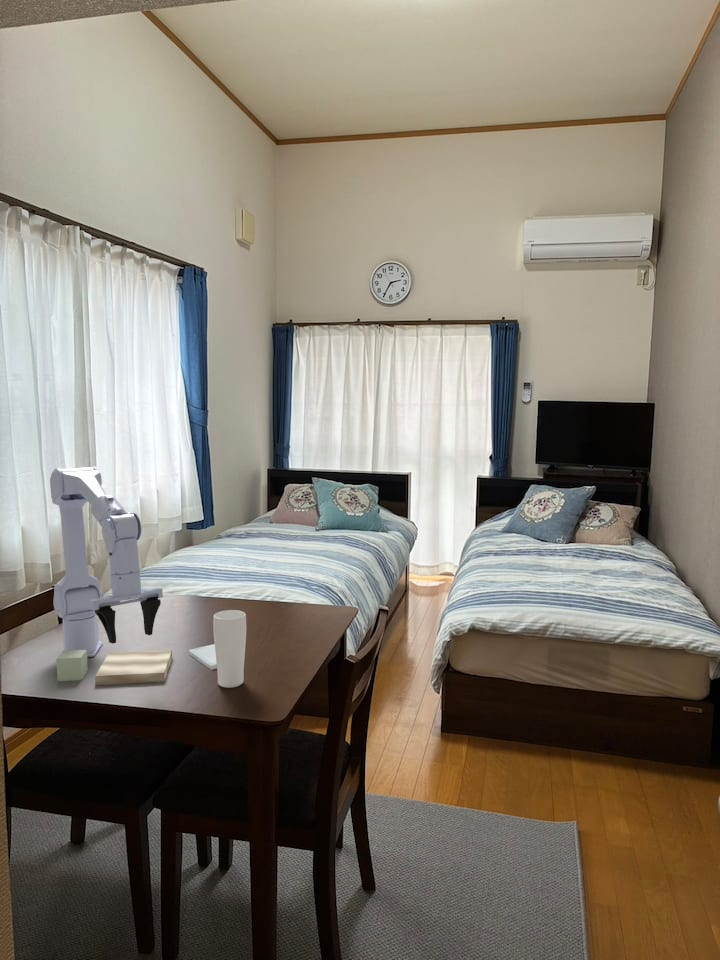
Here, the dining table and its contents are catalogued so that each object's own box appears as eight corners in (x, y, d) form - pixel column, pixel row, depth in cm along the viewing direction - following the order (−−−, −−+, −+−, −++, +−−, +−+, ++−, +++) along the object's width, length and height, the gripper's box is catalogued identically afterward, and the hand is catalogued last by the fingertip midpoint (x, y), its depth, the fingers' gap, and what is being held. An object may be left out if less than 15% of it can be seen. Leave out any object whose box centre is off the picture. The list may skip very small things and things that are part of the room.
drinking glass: (233, 692, 143) (231, 621, 141) (207, 686, 146) (206, 616, 144) (253, 681, 148) (252, 612, 147) (228, 675, 152) (227, 608, 150)
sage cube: (63, 672, 153) (62, 650, 153) (87, 671, 154) (86, 649, 153) (57, 681, 148) (56, 658, 148) (82, 680, 149) (81, 657, 148)
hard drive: (188, 649, 165) (211, 665, 155) (220, 642, 170) (244, 657, 160) (188, 656, 165) (211, 672, 155) (220, 649, 170) (244, 664, 160)
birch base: (109, 661, 160) (109, 652, 160) (172, 658, 162) (172, 649, 162) (95, 685, 146) (95, 676, 146) (164, 681, 148) (164, 672, 148)
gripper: (97, 579, 136) (103, 649, 136) (166, 568, 145) (172, 633, 145) (84, 577, 141) (90, 644, 141) (152, 566, 150) (157, 629, 151)
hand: (130, 638), depth 144 cm, fingers open, 7 cm apart
